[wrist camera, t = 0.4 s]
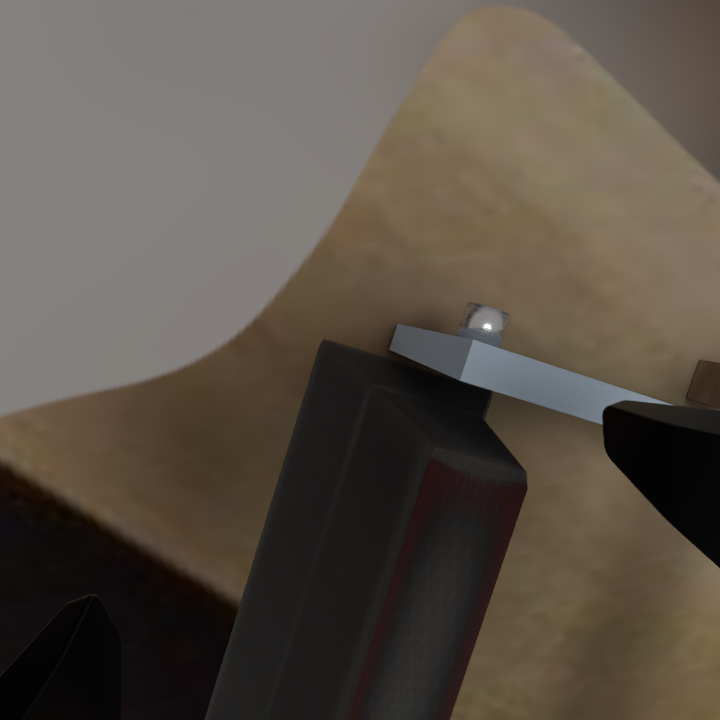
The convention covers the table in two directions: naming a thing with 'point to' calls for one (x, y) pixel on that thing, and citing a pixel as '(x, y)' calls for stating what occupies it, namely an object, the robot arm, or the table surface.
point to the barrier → (373, 549)
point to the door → (506, 366)
